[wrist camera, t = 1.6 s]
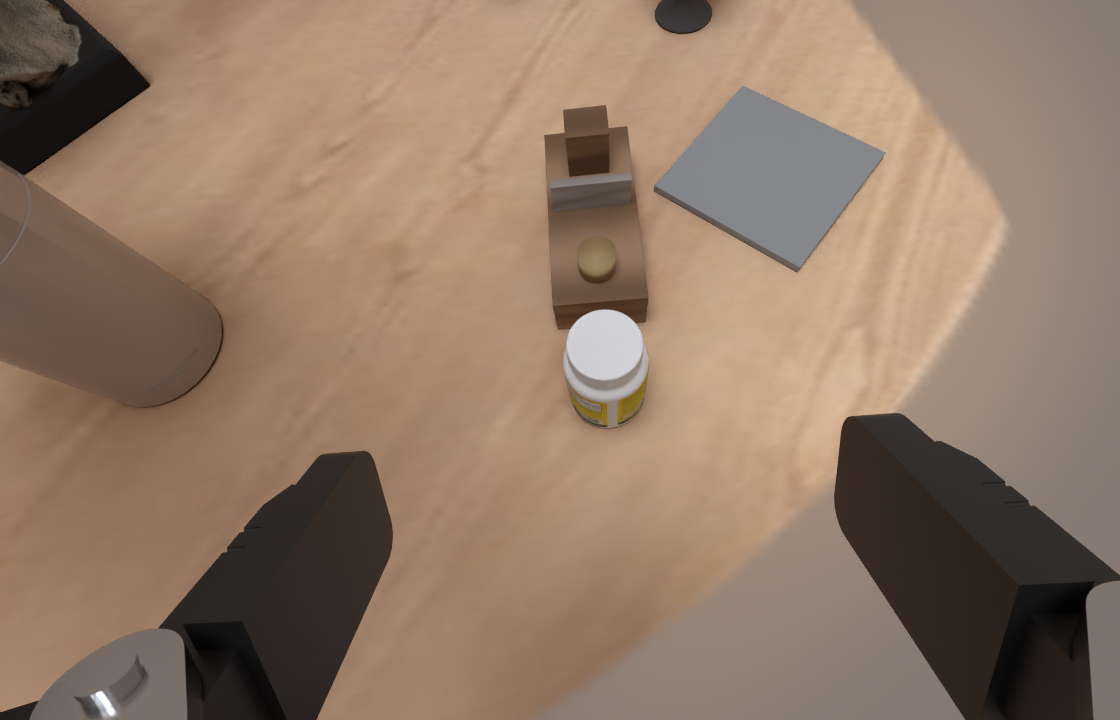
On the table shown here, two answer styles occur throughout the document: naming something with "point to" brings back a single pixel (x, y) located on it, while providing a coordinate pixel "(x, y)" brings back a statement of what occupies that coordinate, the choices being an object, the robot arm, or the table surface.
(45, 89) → the coral
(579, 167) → the plane body
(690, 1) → the sundae
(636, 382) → the supplement bottle
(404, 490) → the table surface
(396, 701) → the table surface
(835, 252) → the table surface
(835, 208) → the felt mat
